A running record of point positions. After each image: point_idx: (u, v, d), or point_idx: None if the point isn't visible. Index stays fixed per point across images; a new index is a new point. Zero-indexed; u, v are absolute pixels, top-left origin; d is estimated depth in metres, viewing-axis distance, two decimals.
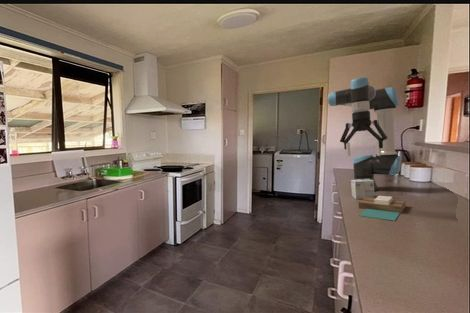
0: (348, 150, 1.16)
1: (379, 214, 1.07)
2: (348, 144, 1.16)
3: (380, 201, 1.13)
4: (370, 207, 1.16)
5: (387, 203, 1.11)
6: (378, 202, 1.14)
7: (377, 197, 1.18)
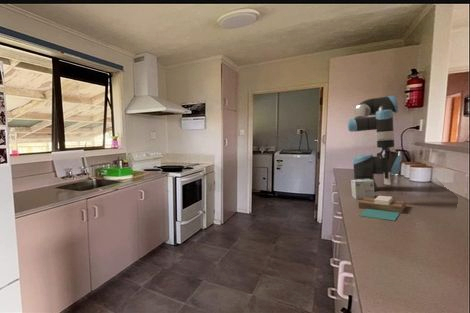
0: None
1: (379, 214, 1.07)
2: None
3: (380, 201, 1.13)
4: (370, 207, 1.16)
5: (387, 203, 1.11)
6: (378, 202, 1.14)
7: (377, 197, 1.18)
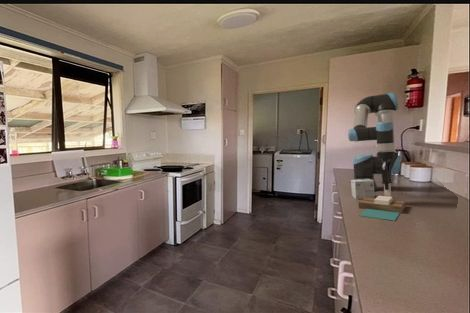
0: None
1: (379, 214, 1.07)
2: None
3: (380, 201, 1.13)
4: (370, 207, 1.16)
5: (387, 203, 1.11)
6: (378, 202, 1.14)
7: (377, 197, 1.18)
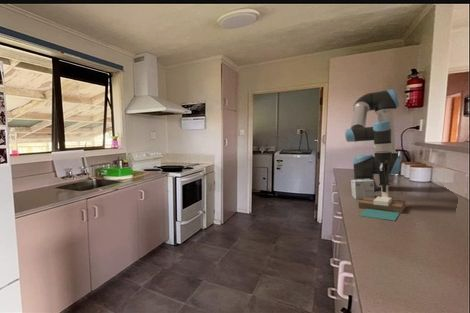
0: None
1: (379, 214, 1.07)
2: None
3: (379, 202, 1.12)
4: (370, 207, 1.16)
5: (386, 204, 1.10)
6: (377, 203, 1.13)
7: (376, 198, 1.17)
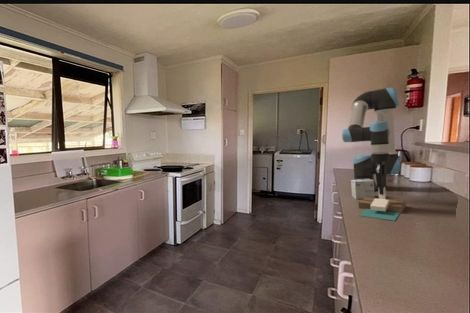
0: None
1: (379, 214, 1.07)
2: None
3: (376, 207, 1.08)
4: None
5: (384, 209, 1.06)
6: (374, 208, 1.09)
7: (373, 201, 1.13)
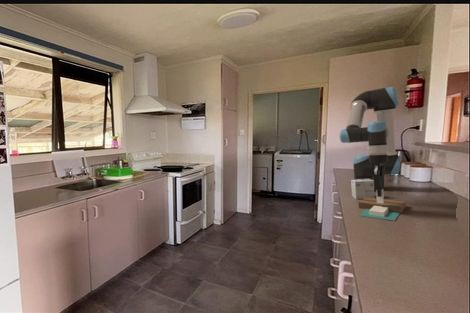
0: None
1: None
2: None
3: (375, 212, 1.06)
4: (370, 207, 1.16)
5: (382, 215, 1.04)
6: (373, 213, 1.07)
7: (372, 207, 1.11)
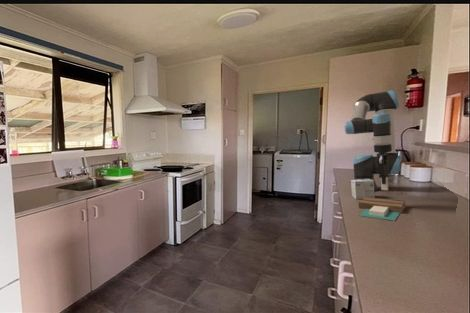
0: None
1: None
2: None
3: (375, 212, 1.06)
4: (370, 207, 1.16)
5: (382, 215, 1.04)
6: (373, 213, 1.07)
7: (372, 207, 1.11)
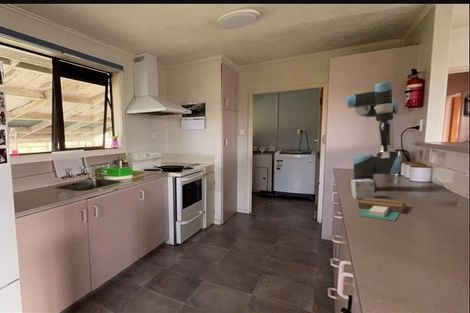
0: None
1: None
2: None
3: (375, 212, 1.06)
4: (370, 207, 1.16)
5: (382, 215, 1.04)
6: (373, 213, 1.07)
7: (372, 207, 1.11)
